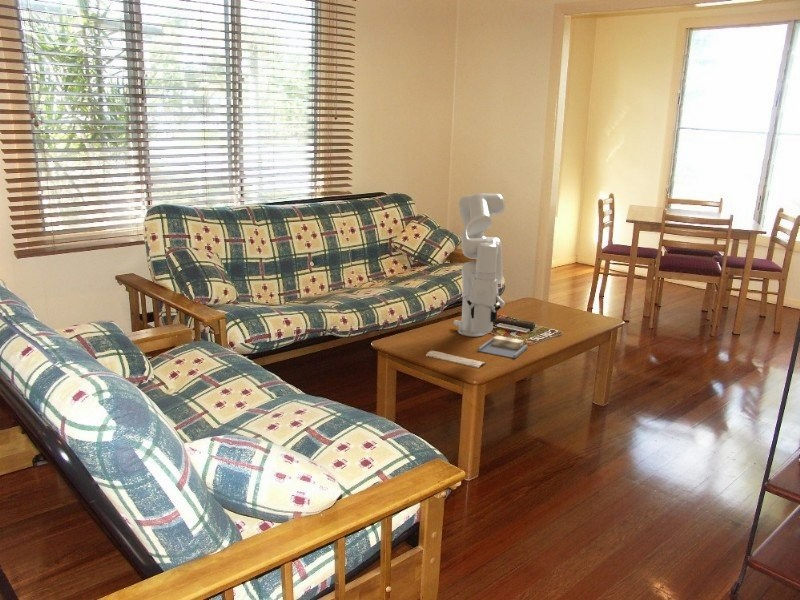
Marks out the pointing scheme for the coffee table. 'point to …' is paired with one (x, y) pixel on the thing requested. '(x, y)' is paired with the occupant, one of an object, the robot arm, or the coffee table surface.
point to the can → (482, 319)
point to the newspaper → (454, 359)
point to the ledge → (507, 342)
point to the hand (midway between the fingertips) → (483, 318)
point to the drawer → (501, 350)
